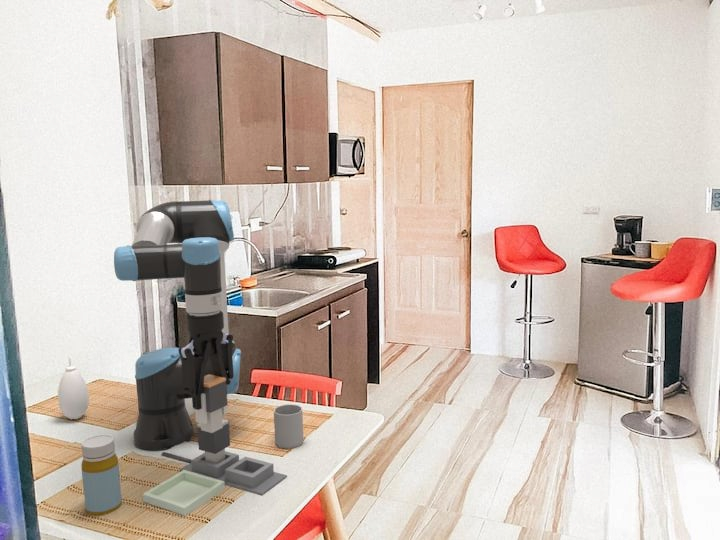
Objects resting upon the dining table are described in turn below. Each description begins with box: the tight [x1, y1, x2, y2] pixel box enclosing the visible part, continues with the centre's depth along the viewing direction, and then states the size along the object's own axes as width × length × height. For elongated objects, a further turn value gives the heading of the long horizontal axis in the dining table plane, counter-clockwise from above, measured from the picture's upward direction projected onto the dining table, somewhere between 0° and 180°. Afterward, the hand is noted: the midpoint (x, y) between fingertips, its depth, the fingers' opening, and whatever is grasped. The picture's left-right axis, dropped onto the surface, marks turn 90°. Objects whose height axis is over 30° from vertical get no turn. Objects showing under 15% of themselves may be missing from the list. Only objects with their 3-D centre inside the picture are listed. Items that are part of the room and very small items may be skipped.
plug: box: [196, 374, 228, 433], centre depth 134 cm, size 5×5×11 cm
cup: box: [273, 404, 304, 450], centre depth 160 cm, size 7×10×9 cm
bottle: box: [81, 434, 123, 516], centre depth 129 cm, size 7×7×15 cm
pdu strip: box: [161, 418, 288, 496], centre depth 144 cm, size 34×9×12 cm, turn 61°
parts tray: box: [142, 470, 226, 517], centre depth 134 cm, size 12×12×2 cm
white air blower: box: [57, 358, 90, 420], centre depth 177 cm, size 8×8×18 cm
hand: (211, 417), depth 134 cm, fingers closed on plug, 5 cm apart
